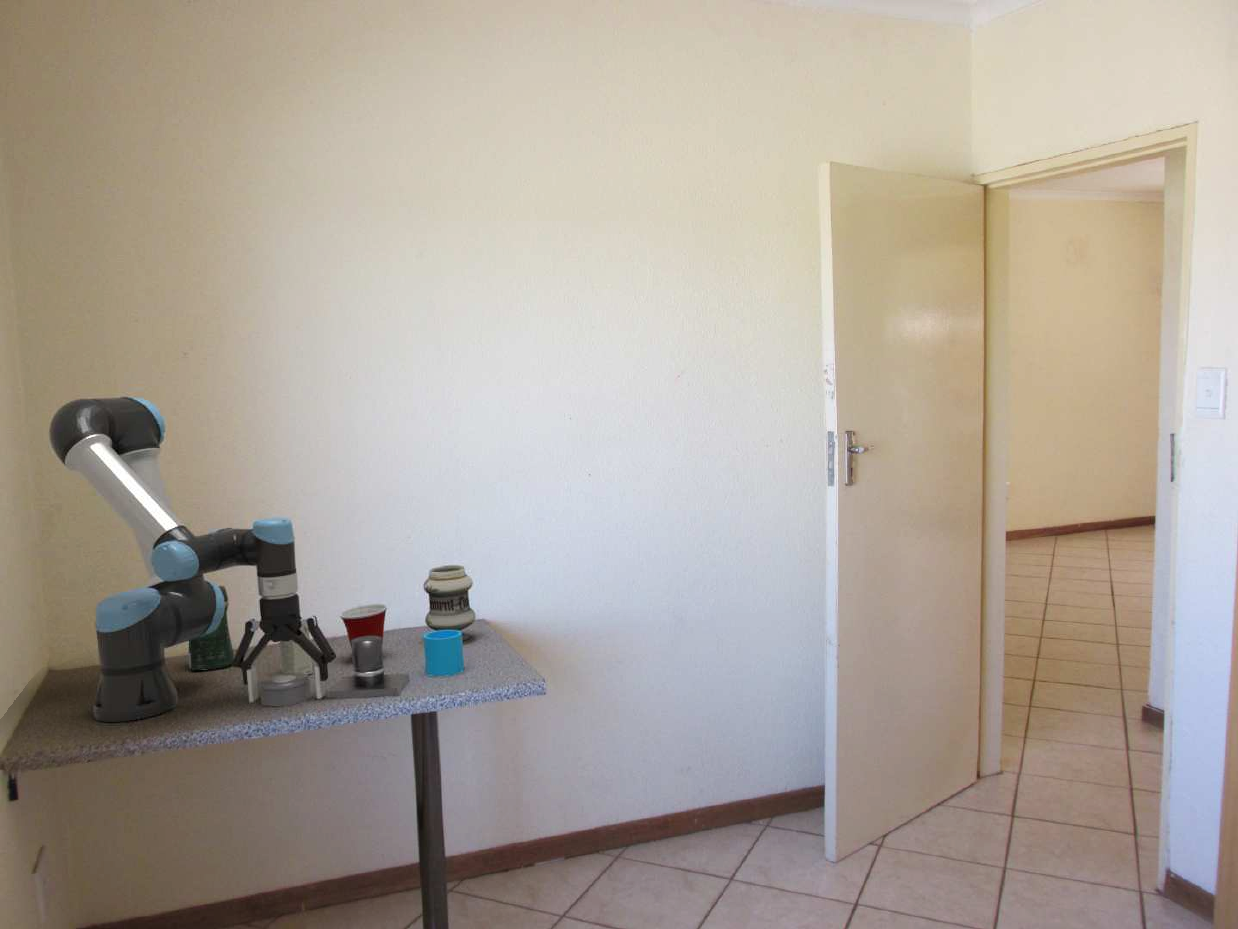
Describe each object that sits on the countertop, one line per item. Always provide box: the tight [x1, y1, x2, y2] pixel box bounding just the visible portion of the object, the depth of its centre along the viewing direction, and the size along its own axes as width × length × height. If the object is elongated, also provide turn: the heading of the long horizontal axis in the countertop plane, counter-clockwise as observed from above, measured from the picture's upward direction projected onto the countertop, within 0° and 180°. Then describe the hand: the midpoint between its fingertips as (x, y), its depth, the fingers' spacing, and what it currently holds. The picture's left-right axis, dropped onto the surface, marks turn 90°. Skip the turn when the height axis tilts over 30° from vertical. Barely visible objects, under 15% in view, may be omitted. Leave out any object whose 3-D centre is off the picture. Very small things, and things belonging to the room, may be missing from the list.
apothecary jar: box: [423, 564, 477, 645], centre depth 237 cm, size 12×12×18 cm
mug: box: [423, 630, 465, 677], centre depth 213 cm, size 12×8×8 cm
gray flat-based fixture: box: [327, 636, 410, 699], centre depth 201 cm, size 14×10×10 cm
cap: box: [259, 673, 312, 707], centre depth 197 cm, size 9×9×4 cm
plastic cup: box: [339, 603, 388, 649], centre depth 224 cm, size 11×11×12 cm
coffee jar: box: [188, 585, 235, 671], centre depth 224 cm, size 10×8×19 cm
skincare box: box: [278, 617, 314, 676], centre depth 215 cm, size 6×4×12 cm
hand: (287, 698), depth 197 cm, fingers open, 13 cm apart
